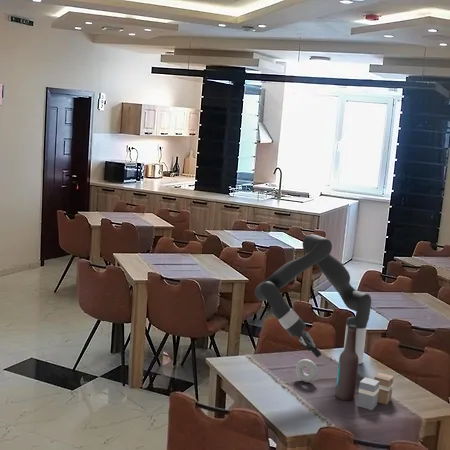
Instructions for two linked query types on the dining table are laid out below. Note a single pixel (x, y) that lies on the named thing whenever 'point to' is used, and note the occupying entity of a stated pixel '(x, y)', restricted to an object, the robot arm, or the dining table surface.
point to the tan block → (384, 387)
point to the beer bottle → (348, 367)
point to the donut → (312, 368)
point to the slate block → (368, 393)
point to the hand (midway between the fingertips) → (319, 355)
